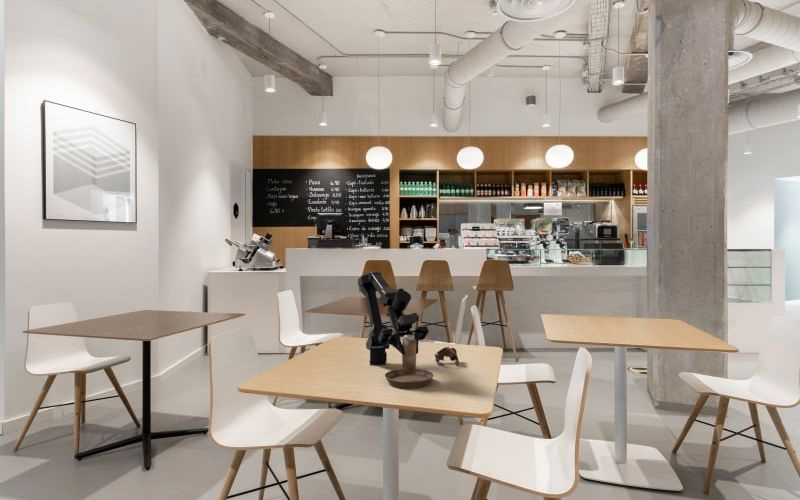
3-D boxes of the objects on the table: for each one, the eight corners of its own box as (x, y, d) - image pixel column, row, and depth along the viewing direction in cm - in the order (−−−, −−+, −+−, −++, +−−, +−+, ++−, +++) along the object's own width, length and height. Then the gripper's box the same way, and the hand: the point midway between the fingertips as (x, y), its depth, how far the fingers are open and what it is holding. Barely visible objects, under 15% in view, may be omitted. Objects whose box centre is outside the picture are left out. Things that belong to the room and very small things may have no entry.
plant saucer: (391, 391, 162) (391, 382, 162) (379, 377, 179) (379, 369, 179) (440, 387, 167) (440, 379, 167) (424, 374, 184) (424, 366, 184)
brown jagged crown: (457, 369, 193) (446, 352, 193) (438, 376, 198) (428, 359, 198) (466, 356, 203) (456, 339, 203) (448, 363, 208) (439, 346, 208)
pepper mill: (400, 373, 171) (400, 336, 171) (404, 370, 176) (404, 333, 176) (413, 375, 170) (413, 337, 170) (417, 371, 174) (417, 334, 174)
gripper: (381, 306, 172) (394, 343, 162) (426, 304, 180) (441, 339, 170) (373, 325, 179) (384, 361, 170) (417, 322, 187) (430, 356, 178)
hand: (410, 353), depth 172 cm, fingers closed on pepper mill, 5 cm apart
